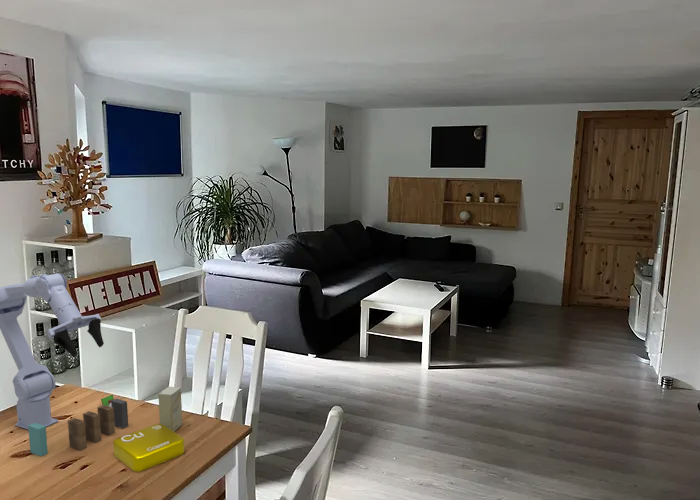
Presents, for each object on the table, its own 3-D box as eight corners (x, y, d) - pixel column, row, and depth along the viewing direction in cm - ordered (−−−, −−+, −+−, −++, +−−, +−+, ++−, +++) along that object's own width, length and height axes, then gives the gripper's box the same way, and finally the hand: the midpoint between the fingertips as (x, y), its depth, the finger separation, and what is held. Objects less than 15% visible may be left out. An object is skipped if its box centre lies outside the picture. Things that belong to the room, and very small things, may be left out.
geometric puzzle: (89, 410, 179) (98, 394, 175) (108, 402, 185) (116, 386, 181) (102, 427, 177) (111, 411, 173) (120, 418, 183) (129, 403, 179)
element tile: (136, 474, 147) (135, 457, 146) (111, 454, 157) (110, 438, 157) (187, 453, 158) (186, 437, 157) (160, 435, 168) (160, 420, 167)
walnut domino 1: (69, 447, 160) (67, 420, 159) (75, 444, 162) (73, 417, 161) (80, 450, 158) (78, 424, 157) (86, 447, 160) (84, 421, 159)
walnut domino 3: (99, 432, 169) (97, 407, 168) (104, 429, 171) (103, 404, 170) (109, 435, 167) (108, 410, 166) (115, 432, 169) (113, 407, 168)
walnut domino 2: (84, 439, 165) (83, 413, 163) (90, 436, 166) (88, 411, 165) (95, 443, 163) (93, 417, 161) (101, 440, 164) (99, 414, 163)
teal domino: (30, 452, 157) (28, 425, 156) (37, 449, 159) (35, 422, 158) (41, 456, 155) (38, 429, 154) (47, 453, 157) (45, 426, 156)
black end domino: (112, 425, 173) (111, 400, 172) (117, 422, 175) (116, 398, 174) (123, 428, 172) (121, 403, 170) (128, 425, 173) (126, 401, 172)
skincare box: (172, 433, 169) (171, 395, 167) (159, 432, 170) (157, 393, 168) (183, 424, 175) (181, 387, 173) (170, 422, 176) (168, 385, 174)
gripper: (43, 310, 150) (67, 352, 147) (94, 295, 162) (117, 334, 159) (36, 324, 154) (59, 364, 151) (87, 308, 166) (109, 346, 163)
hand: (88, 350), depth 155 cm, fingers open, 7 cm apart
